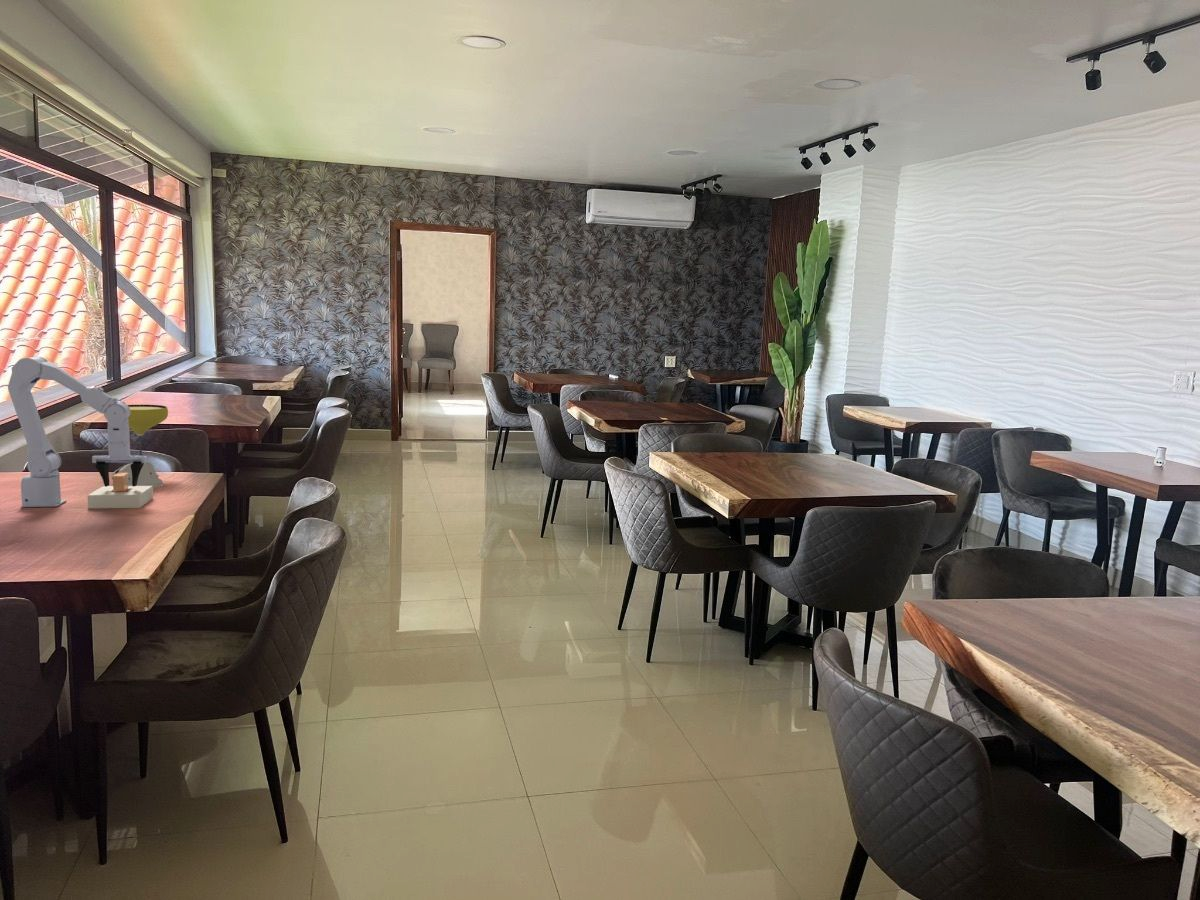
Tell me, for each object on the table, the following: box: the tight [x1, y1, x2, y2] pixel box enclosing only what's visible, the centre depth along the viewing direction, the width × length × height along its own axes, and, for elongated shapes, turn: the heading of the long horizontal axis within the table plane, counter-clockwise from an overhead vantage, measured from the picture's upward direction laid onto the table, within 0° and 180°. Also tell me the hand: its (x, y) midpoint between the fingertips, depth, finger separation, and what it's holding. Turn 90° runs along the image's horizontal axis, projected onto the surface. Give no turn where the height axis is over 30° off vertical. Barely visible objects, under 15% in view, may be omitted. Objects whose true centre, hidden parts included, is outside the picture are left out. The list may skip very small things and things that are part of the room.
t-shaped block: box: [111, 473, 129, 492], centre depth 256 cm, size 3×6×9 cm, turn 14°
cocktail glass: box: [125, 404, 169, 476], centre depth 296 cm, size 18×18×25 cm
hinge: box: [112, 461, 165, 489], centre depth 278 cm, size 17×5×10 cm, turn 172°
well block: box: [87, 485, 154, 509], centre depth 257 cm, size 14×14×4 cm
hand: (120, 485), depth 256 cm, fingers open, 7 cm apart
